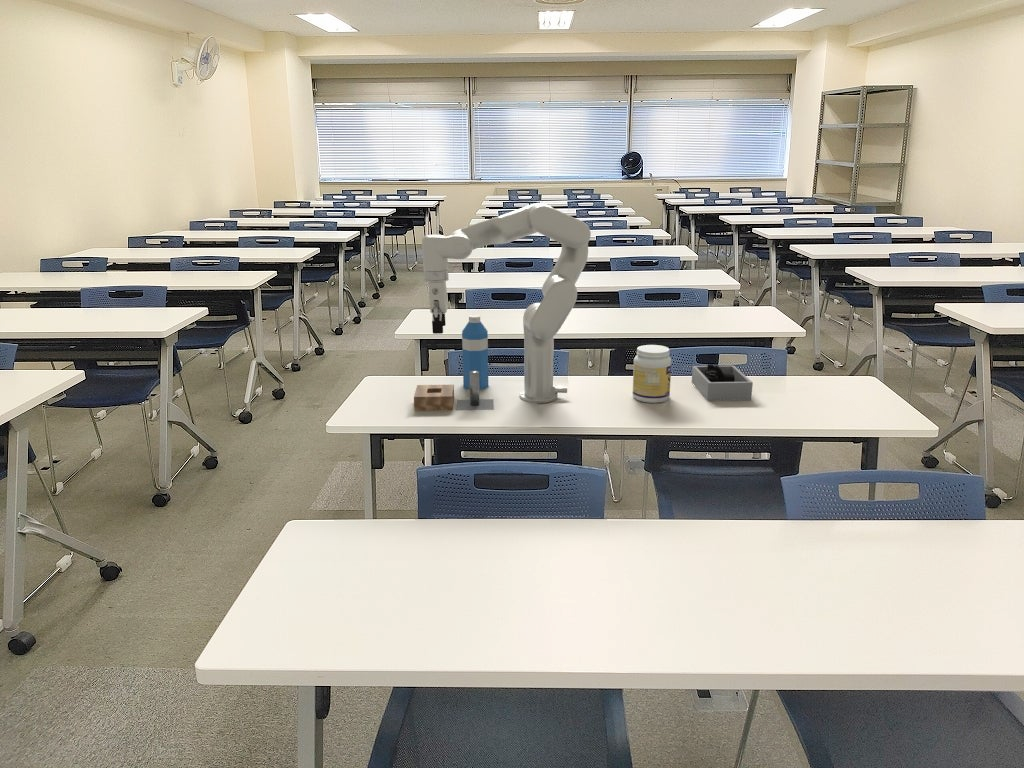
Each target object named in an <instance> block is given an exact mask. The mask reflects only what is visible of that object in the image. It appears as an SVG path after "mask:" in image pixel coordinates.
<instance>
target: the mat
mask: <svg viewBox="0 0 1024 768" xmlns="http://www.w3.org/2000/svg"><path fill="white" fill-rule="evenodd" d="M494 400H495V399H494V398H488V399H487V398H483V399H482V398H480V405H478V406H471V405H470V398H469V399H456V403H455V404H456V405H455V411H481V410H482V411H486V410H488V411H489V410H490V411H491V410H494V409H495V408H494V403H495V402H494Z"/></svg>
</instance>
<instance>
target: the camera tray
mask: <svg viewBox="0 0 1024 768" xmlns="http://www.w3.org/2000/svg"><path fill="white" fill-rule="evenodd" d="M718 366H719V367H720V368H722V372H724V373H731V374H734V376H735V382H710V381H709V380H708V379H707V378H706V377H705V369H706V367H707V365H693V366H692V368H691V369H692V370H691V373H692V374H691V384H692V383H693V384H694V385H695V386H694V385H693V384H692V385H693V386H694V387H695V388H696V389H697V391H698V390H699V391H700V392H699V391H698V392H699V393H700V395H702V397H703V398H704V399H705V400H706V401H710V402H711V401H713V402H714V401H716V402H717V401H751V400H752V393H753V385H754V384H753V383H754V382H753V381H752V380H750V379H749V378H748V377H747V375H745V374H744V373H743V372H742V371H741V370H739V369H738V368H737V367H736V365H718Z"/></svg>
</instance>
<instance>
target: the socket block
mask: <svg viewBox="0 0 1024 768" xmlns="http://www.w3.org/2000/svg"><path fill="white" fill-rule="evenodd" d="M415 388H416V389H415V391H414V393H413V409H414V410H413V411H415V412H423V411H425V412H427V411H436V412H437V411H453V409H454V402H455V385H454V384H416V387H415Z"/></svg>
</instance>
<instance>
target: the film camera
mask: <svg viewBox="0 0 1024 768" xmlns="http://www.w3.org/2000/svg"><path fill="white" fill-rule="evenodd" d="M706 366H707V367H706V369H705V377H706V378H707V379H708V380H709V381H710V382H735V376H734V374H731V373H724V372H722V368H720V367H719V366H720V365H717V364H715V365H714V364H711V363H708V364H707V365H706Z"/></svg>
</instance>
